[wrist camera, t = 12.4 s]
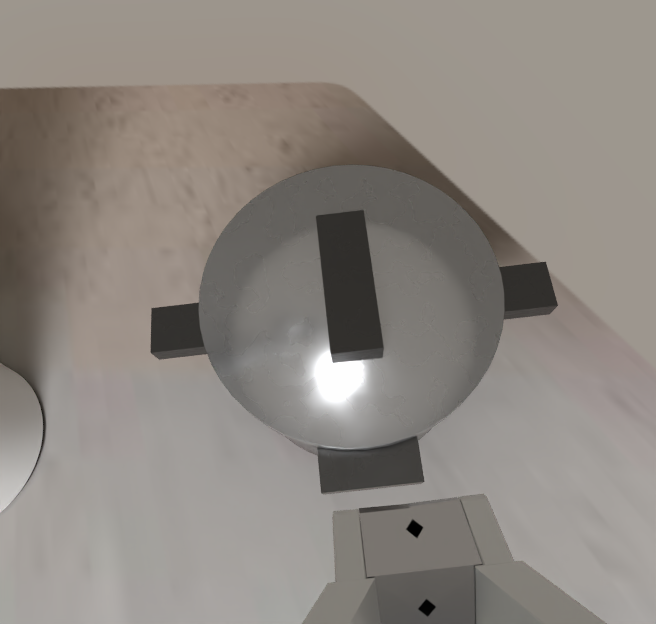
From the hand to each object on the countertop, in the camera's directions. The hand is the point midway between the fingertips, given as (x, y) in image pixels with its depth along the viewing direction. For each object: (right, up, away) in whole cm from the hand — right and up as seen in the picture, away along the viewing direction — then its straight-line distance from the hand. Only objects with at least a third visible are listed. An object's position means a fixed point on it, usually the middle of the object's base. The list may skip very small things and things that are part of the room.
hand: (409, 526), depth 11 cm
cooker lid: (0, +5, +24) cm, 25 cm away
